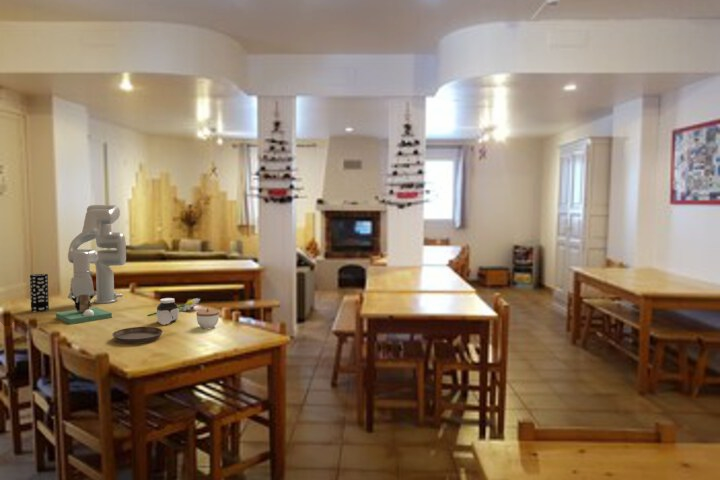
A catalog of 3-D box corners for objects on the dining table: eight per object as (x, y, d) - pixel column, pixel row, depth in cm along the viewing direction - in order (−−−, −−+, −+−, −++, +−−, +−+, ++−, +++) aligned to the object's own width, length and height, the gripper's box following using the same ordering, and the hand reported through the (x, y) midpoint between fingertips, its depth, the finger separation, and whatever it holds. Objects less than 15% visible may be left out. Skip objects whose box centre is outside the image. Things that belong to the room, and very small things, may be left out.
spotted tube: (42, 312, 269) (41, 276, 268) (27, 311, 269) (26, 275, 268) (52, 308, 277) (51, 273, 276) (37, 308, 277) (36, 273, 276)
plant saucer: (172, 335, 228) (172, 328, 228) (143, 347, 208) (142, 339, 208) (133, 331, 233) (133, 325, 233) (101, 343, 213) (101, 336, 213)
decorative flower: (153, 322, 261) (205, 307, 281) (151, 313, 260) (204, 299, 280) (144, 319, 270) (195, 305, 290) (142, 310, 269) (194, 297, 290)
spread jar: (174, 318, 259) (173, 297, 259) (183, 322, 251) (183, 300, 251) (151, 322, 251) (150, 299, 250) (160, 326, 243) (159, 303, 242)
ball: (84, 320, 251) (81, 318, 254) (95, 319, 254) (92, 318, 258) (85, 310, 251) (82, 309, 255) (95, 309, 254) (92, 308, 258)
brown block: (84, 309, 262) (84, 293, 262) (88, 311, 259) (88, 294, 258) (76, 311, 259) (76, 294, 258) (80, 312, 256) (80, 295, 255)
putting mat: (96, 311, 272) (96, 307, 272) (112, 317, 259) (111, 313, 259) (56, 317, 257) (55, 312, 257) (70, 324, 244) (70, 319, 244)
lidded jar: (223, 325, 246) (223, 307, 246) (210, 330, 236) (210, 311, 236) (205, 323, 250) (205, 305, 249) (191, 328, 240) (191, 309, 239)
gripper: (95, 272, 266) (96, 305, 268) (61, 275, 254) (62, 310, 255) (101, 273, 261) (102, 307, 263) (66, 277, 249) (67, 312, 250)
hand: (82, 308), depth 259 cm, fingers closed on brown block, 4 cm apart
